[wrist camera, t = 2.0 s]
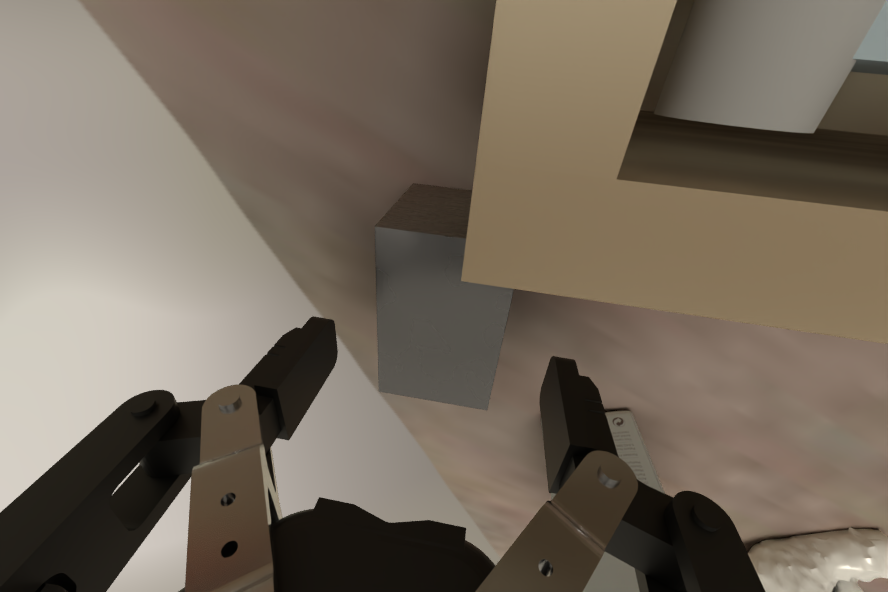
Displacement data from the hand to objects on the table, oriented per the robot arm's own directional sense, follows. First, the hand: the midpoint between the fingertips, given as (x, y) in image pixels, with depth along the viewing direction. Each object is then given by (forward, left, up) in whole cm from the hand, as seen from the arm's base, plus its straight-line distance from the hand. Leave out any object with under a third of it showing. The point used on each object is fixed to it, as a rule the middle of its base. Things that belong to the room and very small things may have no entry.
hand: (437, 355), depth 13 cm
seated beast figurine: (+21, +29, -7) cm, 36 cm away
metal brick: (0, 0, -7) cm, 7 cm away
